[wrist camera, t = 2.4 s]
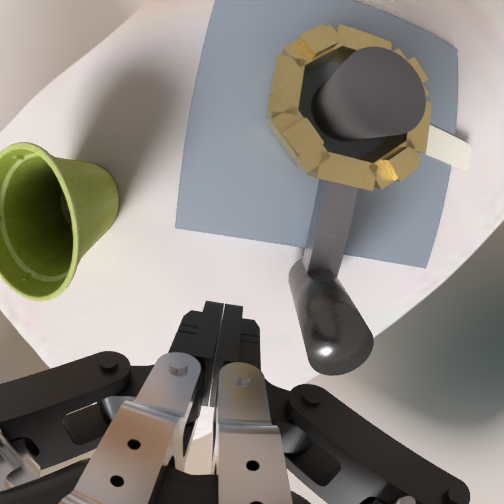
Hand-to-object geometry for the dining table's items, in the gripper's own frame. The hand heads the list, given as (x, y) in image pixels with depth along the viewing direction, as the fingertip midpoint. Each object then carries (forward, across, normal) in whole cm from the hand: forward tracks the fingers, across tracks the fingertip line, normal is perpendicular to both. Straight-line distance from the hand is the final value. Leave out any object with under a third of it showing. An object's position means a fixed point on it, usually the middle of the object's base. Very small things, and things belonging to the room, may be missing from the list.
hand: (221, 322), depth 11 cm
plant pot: (+10, +12, -2) cm, 16 cm away
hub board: (+10, -7, -11) cm, 16 cm away
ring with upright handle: (+9, -6, -7) cm, 12 cm away
